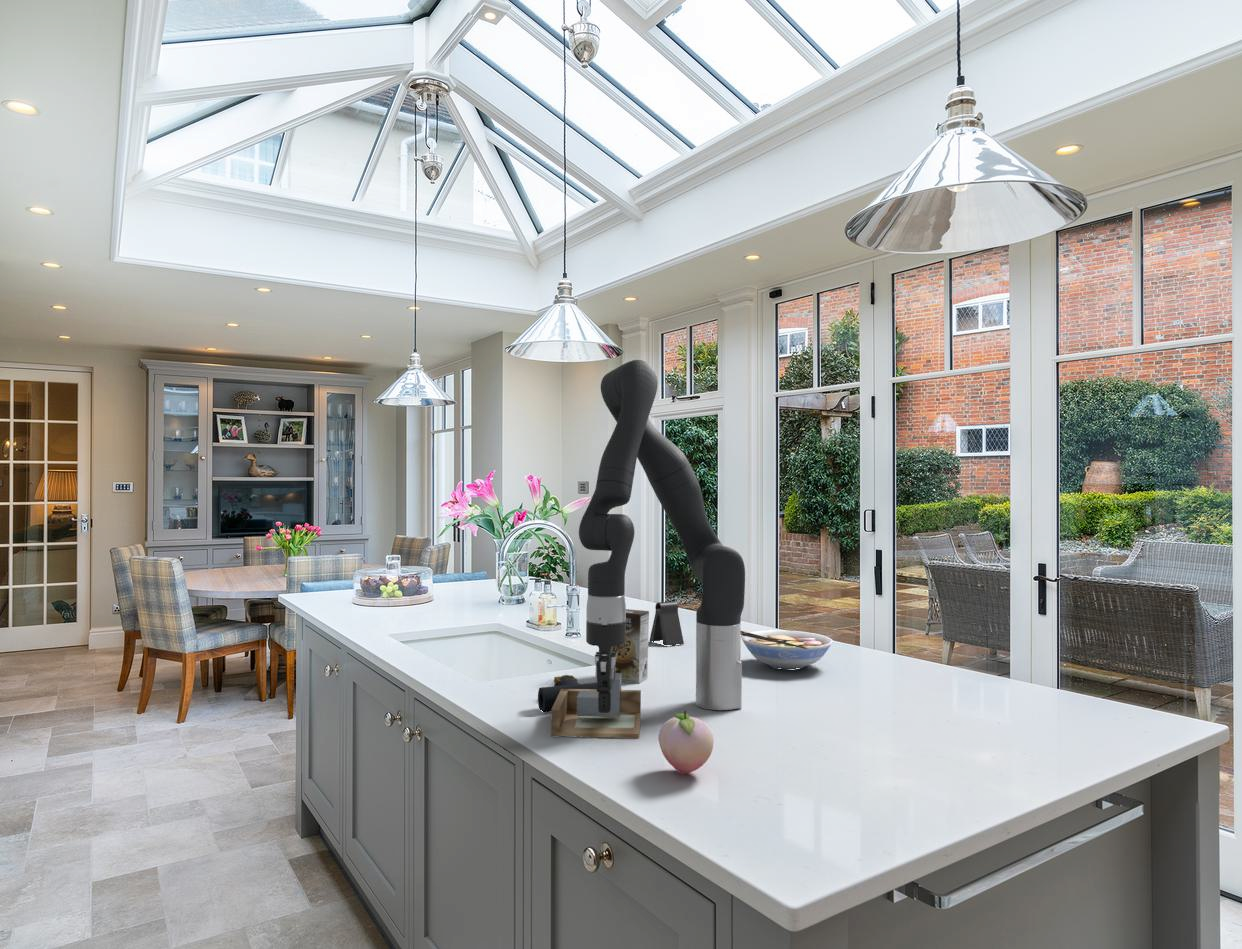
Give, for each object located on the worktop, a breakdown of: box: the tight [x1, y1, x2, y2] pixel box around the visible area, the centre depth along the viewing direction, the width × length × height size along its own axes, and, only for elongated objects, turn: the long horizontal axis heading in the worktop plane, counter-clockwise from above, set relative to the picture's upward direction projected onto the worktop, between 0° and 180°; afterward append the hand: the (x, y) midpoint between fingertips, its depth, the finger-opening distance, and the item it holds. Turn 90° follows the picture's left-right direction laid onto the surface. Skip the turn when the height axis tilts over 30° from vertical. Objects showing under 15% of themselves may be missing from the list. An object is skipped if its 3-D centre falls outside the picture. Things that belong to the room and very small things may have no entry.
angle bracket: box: [577, 673, 622, 717], centre depth 150 cm, size 5×8×7 cm, turn 86°
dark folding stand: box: [649, 600, 685, 645], centre depth 229 cm, size 9×6×12 cm, turn 31°
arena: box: [550, 689, 642, 739], centre depth 150 cm, size 16×15×5 cm
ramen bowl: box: [741, 629, 834, 669], centre depth 200 cm, size 25×23×8 cm
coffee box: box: [613, 608, 650, 684], centre depth 186 cm, size 9×6×16 cm
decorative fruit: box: [658, 710, 714, 775], centre depth 125 cm, size 9×8×10 cm
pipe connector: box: [537, 674, 597, 713], centre depth 165 cm, size 12×5×15 cm
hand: (605, 707), depth 150 cm, fingers closed on angle bracket, 5 cm apart
